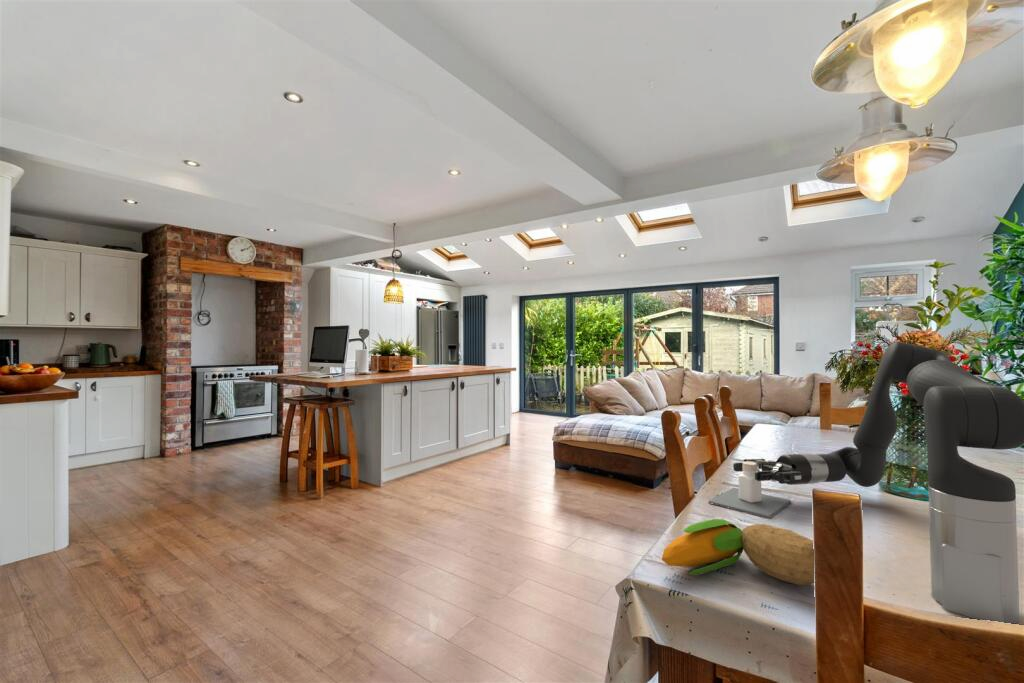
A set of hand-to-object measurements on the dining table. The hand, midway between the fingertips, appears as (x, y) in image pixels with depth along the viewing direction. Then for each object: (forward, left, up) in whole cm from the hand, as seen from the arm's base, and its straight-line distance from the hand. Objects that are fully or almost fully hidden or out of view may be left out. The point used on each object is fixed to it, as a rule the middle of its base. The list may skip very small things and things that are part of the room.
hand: (744, 471), depth 112 cm
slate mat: (+1, -1, -8) cm, 8 cm away
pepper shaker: (+1, -1, -8) cm, 8 cm away
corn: (-40, -8, -8) cm, 42 cm away
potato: (-35, -18, -8) cm, 40 cm away
